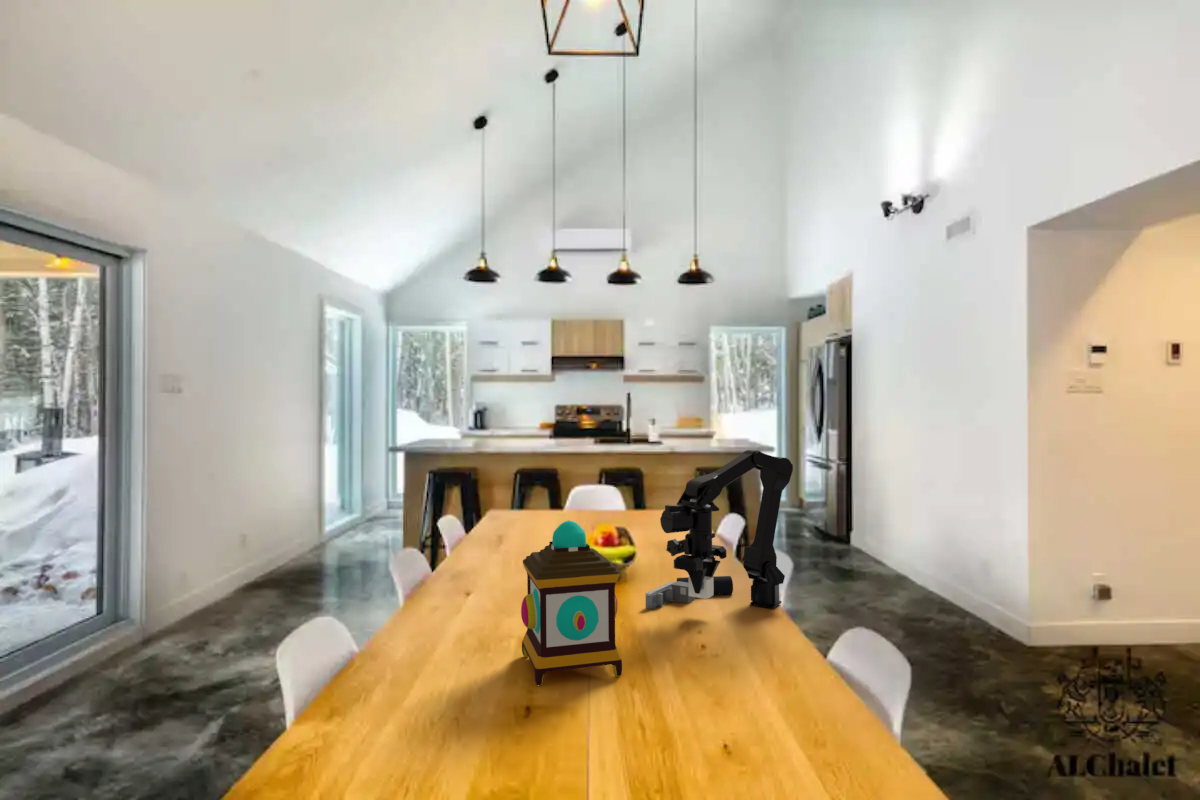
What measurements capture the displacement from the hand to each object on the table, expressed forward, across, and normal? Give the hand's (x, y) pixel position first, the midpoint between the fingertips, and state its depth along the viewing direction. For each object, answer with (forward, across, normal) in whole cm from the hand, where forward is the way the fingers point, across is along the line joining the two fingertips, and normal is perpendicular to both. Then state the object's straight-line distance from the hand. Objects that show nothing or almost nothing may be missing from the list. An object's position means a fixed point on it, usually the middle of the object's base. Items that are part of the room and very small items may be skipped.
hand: (701, 591), depth 175 cm
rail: (+6, -5, -14) cm, 16 cm away
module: (+1, 0, 0) cm, 1 cm away
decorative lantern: (+6, +45, -8) cm, 46 cm away
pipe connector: (+7, -21, -10) cm, 24 cm away
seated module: (+6, -10, -10) cm, 15 cm away
